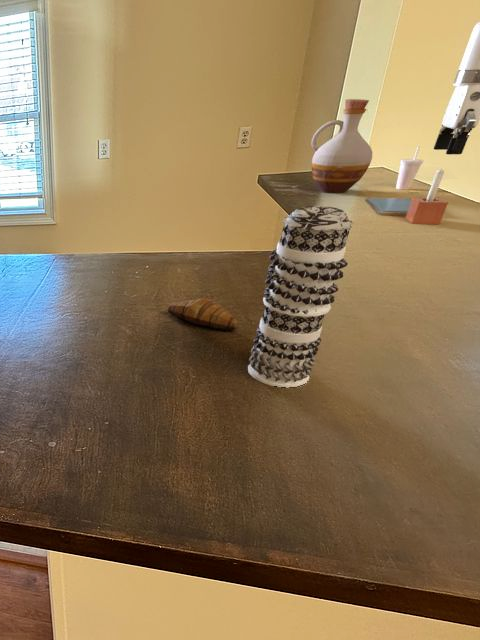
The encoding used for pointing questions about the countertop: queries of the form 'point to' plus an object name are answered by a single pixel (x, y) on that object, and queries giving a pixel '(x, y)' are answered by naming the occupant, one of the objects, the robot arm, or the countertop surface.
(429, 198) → the stylus
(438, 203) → the pen stand
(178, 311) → the croissant
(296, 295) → the decorative candle
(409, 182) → the smoothie
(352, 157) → the jug
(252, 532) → the countertop surface
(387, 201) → the tablet
